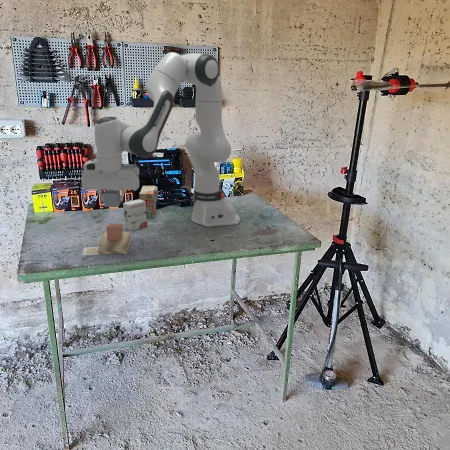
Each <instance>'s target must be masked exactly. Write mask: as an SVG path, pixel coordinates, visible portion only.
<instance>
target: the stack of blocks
mask: <svg viewBox="0 0 450 450" xmlns="http://www.w3.org/2000/svg"><path fill="white" fill-rule="evenodd" d="M139 199H140V200H143V201H145V202H146V216H147V220H148V219H155V217H156V213H157V209H156V202H157V199H158V200H159V192H158V186H156V185H142V187H141V190H140V192H139Z"/></svg>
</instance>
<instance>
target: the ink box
mask: <svg viewBox="0 0 450 450" xmlns="http://www.w3.org/2000/svg"><path fill="white" fill-rule="evenodd" d="M122 204H123V205H122V208H123V217H124V218H123V220H124V221H123V223H124V229H125V230H127V231H128V232H132V231H137V230H139V229H140V230H141V229H143V228H147V227H148V221H147V220H148V218H147V216H146V202H145V201H143V200H140V198H138V199H134V200H131V201H126V202H123V203H122Z"/></svg>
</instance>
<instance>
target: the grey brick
mask: <svg viewBox="0 0 450 450" xmlns="http://www.w3.org/2000/svg"><path fill="white" fill-rule="evenodd" d="M102 194H103V197H104V201H103V207H104V208H119V206H120V204H121V201H119V198H118V197H119V195H121V190H105V191H104V192H103V193H102Z"/></svg>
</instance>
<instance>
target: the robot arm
mask: <svg viewBox="0 0 450 450" xmlns="http://www.w3.org/2000/svg"><path fill="white" fill-rule="evenodd" d="M219 74H220V66H219V62H218V60H217V58H216V57H214V56H213V55H210V54H208V53H199V52H197V53H195V52H194V53H193V52H192V53H181V54H180V53H177V52H174V51H171V52H168V53H167V54H165V55H164V56H163V57H162V58H161V59H160V60H159V62H158V63H157V64H156V65H155V67H154V69H153V70H152V71H151V73H150V75H149V76H148V78H147V81H146V84H145V89H146V94H147V95H148V97H149V99H150V100H151V101H153V107H152V110H151V111H150V114H149V116H148V118H147V120H146V122H145V124H144V125H143V126H140V127H139V126H135V125H131V124H129V123H125V122H124V121H122V120H120V119H119V118H118V117H116V116H104V117H100V118H98V119H97V120H96V122H95V124H94V144H95V145H94V146H95V147H96V153H95V157H96V158H93V159H90V160H88V161H86V162H85V163H84V164H83V167H82V168H83V172H82V174H81V187H82V188H83V190H96V192H97V194H98V196H99V197H100V201H101V202H104V197H103V194H104V193H102V191H103V190H105V191H106V190H120V193H121V194H120V195H119V197H118V198H119V201H120V202H123V201H124V195H126V191H137V190H138V189H139V188H140V178H139V176H140V168H139V166H138V165H136V164H134V163H133V164H132V163H131V164H130V163H123V153H124V152H127V153H130V154H133V155H135V156H137V157H138V158H142V159H147V158H149V157H151V156H152V155H153V154H154V153H155V152H156V151H157V149H158V146H159V142H160V138H161V134H162V132H163V130H164V127H165V126H166V124H167V121H168V119H169V118H170V117H169V116H170V114H171V112H172V110H173V108H174V103H175V95H176V93H177V92H178V90H179V88H180V86H181V84H182V83H188V84H194V86H195V89H196V90H195V111H194V112H195V114H194V115H195V116H194V119H195V121H196V123H197V125H198V127H199V130H200V132H199V131H198V132H197V131H196V132H192V133H190V134H188V135H187V137H186V140H185V146H184V147H185V148H186V150H187V152H188V154H189V156H190V160H191V165H192V168H193V173H194V175H193V176H194V189H193V194H192V195H193V197H192V199H193V210H192V214H191V217H190V219H191V221H192V222H193V223H195V224H198V225H202V226H203V227H206V228H208V227H209V228H210V227H221V226H235V225H239V223H240V222H241V218H240V216H239V214H237V213H236V210H235V207H234V205H233V204H232V203H231V202H230V201H228V200H227V199H226V198H225V197H226V194H225V193H224V191H223V190H222V189H220V172H219V170H218V168H217V166H216V163H217V164H218V163H224V162H226V161H228V160H229V158H230V156H231V155H232V154H231V153H232V146H231V143H230V142H229V141H228V140H227V137H226V135H225V130H224V126H223V118H222V117H223V116H222V115H223V113H222V112H223V110H222V109H223V89H222V87H223V86H222V82H221V81H222V80H221V77H220V76H219Z"/></svg>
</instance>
